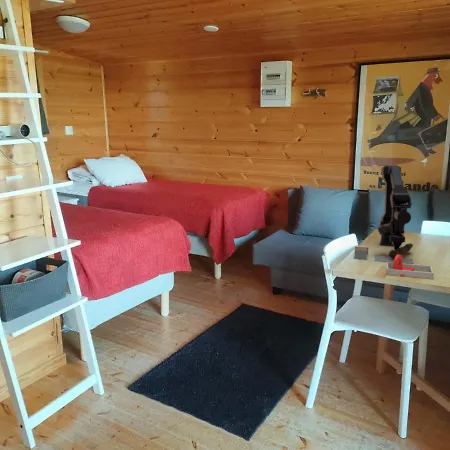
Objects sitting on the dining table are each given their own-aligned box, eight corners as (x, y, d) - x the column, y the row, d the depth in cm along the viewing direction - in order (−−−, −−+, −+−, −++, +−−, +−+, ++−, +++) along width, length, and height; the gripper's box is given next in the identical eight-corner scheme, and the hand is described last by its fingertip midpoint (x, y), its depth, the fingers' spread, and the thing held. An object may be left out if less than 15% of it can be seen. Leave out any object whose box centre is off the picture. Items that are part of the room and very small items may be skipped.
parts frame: (386, 267, 186) (386, 262, 186) (430, 271, 181) (431, 265, 180) (386, 274, 177) (386, 269, 177) (433, 278, 172) (433, 273, 171)
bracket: (403, 277, 175) (405, 258, 173) (392, 275, 178) (393, 256, 176) (414, 270, 183) (416, 252, 182) (403, 268, 186) (405, 250, 185)
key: (354, 253, 207) (355, 246, 206) (368, 254, 205) (368, 247, 204) (353, 256, 201) (354, 250, 200) (367, 258, 199) (368, 251, 198)
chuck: (355, 255, 204) (355, 247, 203) (366, 256, 203) (367, 248, 202) (354, 258, 200) (355, 250, 199) (366, 259, 198) (366, 250, 197)
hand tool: (394, 261, 195) (400, 253, 192) (387, 255, 197) (392, 247, 194) (412, 254, 208) (418, 247, 206) (405, 249, 210) (411, 241, 208)
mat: (374, 256, 203) (374, 255, 203) (412, 259, 198) (412, 258, 198) (374, 260, 196) (374, 260, 196) (413, 264, 191) (413, 263, 191)
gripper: (379, 213, 211) (377, 245, 215) (379, 222, 194) (376, 256, 198) (404, 215, 207) (402, 247, 211) (406, 224, 190) (403, 258, 194)
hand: (395, 252), depth 204 cm, fingers closed, pressing on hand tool
